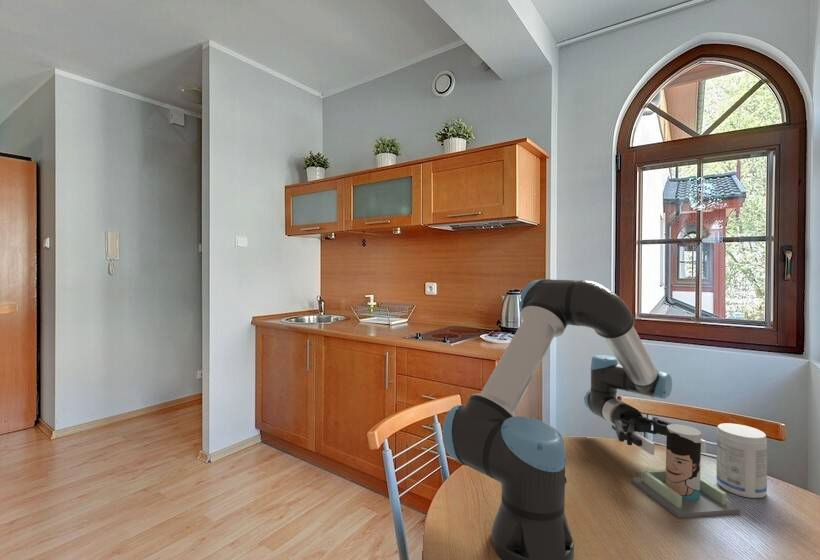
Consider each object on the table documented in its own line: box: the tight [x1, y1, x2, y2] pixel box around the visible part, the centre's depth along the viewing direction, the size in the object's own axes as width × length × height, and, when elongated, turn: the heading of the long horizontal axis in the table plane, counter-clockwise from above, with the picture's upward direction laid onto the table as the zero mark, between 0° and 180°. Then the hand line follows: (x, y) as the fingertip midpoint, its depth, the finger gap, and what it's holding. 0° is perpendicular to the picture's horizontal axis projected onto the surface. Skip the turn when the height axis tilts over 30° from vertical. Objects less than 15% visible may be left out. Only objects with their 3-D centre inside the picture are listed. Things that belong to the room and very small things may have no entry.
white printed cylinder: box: [665, 423, 702, 500], centre depth 94 cm, size 7×7×15 cm
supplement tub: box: [716, 422, 768, 499], centre depth 97 cm, size 10×10×15 cm
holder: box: [631, 468, 741, 519], centre depth 94 cm, size 15×15×4 cm
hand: (679, 448), depth 96 cm, fingers open, 13 cm apart
